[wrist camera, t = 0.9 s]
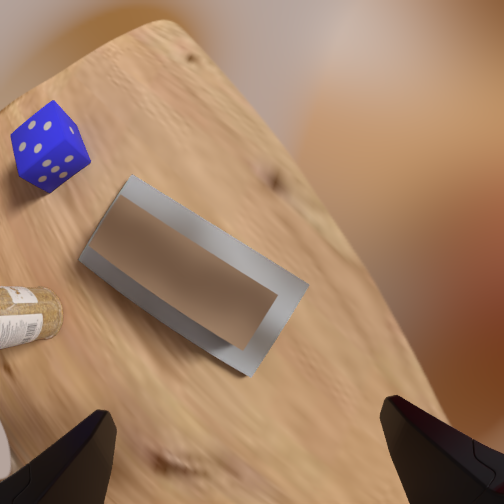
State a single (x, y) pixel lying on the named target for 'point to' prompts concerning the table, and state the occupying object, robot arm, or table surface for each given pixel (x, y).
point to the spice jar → (28, 315)
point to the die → (49, 148)
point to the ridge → (192, 276)
